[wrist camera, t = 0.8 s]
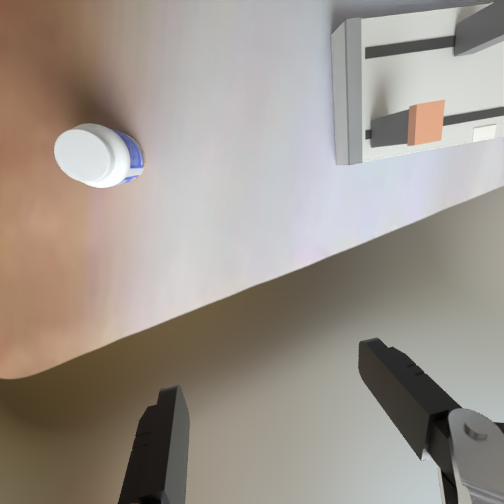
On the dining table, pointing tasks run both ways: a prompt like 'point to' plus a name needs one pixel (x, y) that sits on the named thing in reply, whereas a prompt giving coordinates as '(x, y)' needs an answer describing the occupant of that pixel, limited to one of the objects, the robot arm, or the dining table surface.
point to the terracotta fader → (409, 126)
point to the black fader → (480, 30)
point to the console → (412, 81)
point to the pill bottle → (99, 155)
